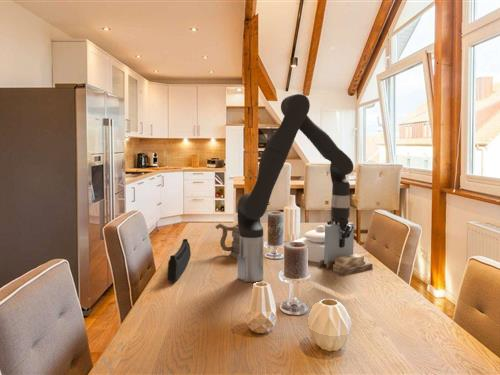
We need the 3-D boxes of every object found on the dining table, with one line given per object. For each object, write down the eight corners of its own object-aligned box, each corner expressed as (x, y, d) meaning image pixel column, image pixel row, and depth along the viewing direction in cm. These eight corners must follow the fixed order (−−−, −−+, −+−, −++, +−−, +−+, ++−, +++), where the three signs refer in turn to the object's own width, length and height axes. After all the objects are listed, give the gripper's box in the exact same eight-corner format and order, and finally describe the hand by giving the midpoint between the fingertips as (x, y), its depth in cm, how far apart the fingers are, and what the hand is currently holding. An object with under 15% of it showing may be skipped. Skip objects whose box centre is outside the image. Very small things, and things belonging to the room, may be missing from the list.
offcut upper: (341, 266, 168) (342, 260, 168) (335, 264, 171) (335, 258, 171) (363, 262, 174) (363, 256, 174) (356, 259, 178) (356, 253, 177)
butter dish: (328, 268, 180) (328, 231, 178) (292, 260, 191) (292, 226, 189) (346, 258, 194) (347, 224, 192) (311, 252, 205) (312, 220, 203)
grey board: (327, 264, 173) (329, 226, 171) (324, 263, 175) (325, 225, 174) (352, 260, 180) (354, 223, 179) (348, 258, 182) (350, 222, 181)
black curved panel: (174, 263, 156) (188, 224, 184) (165, 263, 156) (181, 224, 184) (177, 300, 163) (191, 258, 190) (169, 300, 163) (184, 257, 191)
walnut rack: (340, 279, 165) (340, 268, 164) (317, 269, 177) (317, 259, 176) (373, 271, 174) (373, 261, 173) (348, 263, 186) (349, 253, 185)
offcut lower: (339, 273, 168) (340, 266, 167) (333, 270, 171) (333, 264, 171) (365, 267, 175) (365, 261, 175) (358, 265, 178) (358, 259, 178)
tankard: (259, 251, 205) (259, 221, 204) (256, 259, 193) (256, 226, 191) (218, 250, 208) (218, 220, 206) (213, 257, 195) (213, 225, 193)
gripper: (322, 204, 179) (321, 244, 181) (345, 208, 167) (344, 251, 169) (335, 202, 183) (334, 242, 185) (359, 207, 171) (357, 249, 173)
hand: (339, 246), depth 177 cm, fingers closed on grey board, 2 cm apart
